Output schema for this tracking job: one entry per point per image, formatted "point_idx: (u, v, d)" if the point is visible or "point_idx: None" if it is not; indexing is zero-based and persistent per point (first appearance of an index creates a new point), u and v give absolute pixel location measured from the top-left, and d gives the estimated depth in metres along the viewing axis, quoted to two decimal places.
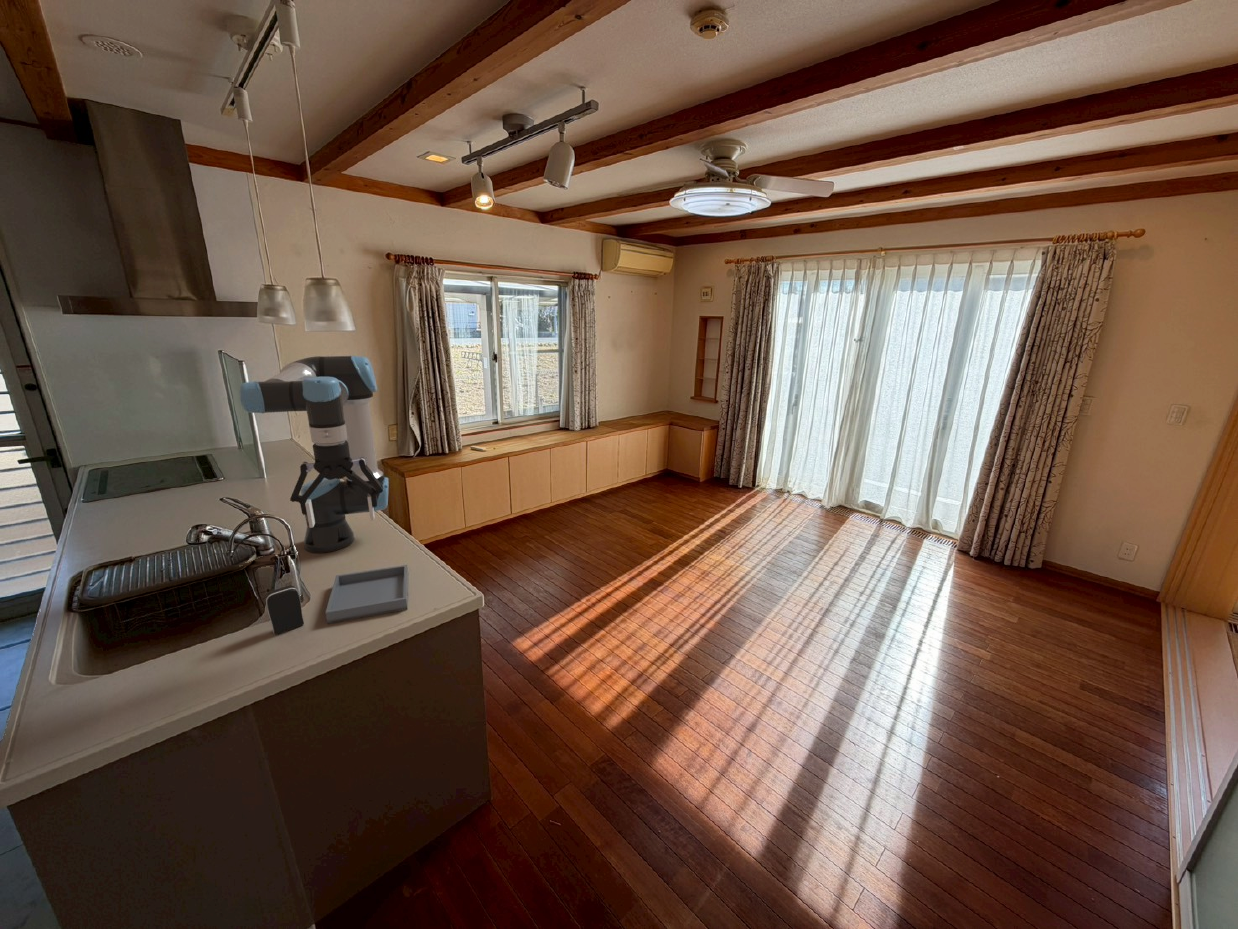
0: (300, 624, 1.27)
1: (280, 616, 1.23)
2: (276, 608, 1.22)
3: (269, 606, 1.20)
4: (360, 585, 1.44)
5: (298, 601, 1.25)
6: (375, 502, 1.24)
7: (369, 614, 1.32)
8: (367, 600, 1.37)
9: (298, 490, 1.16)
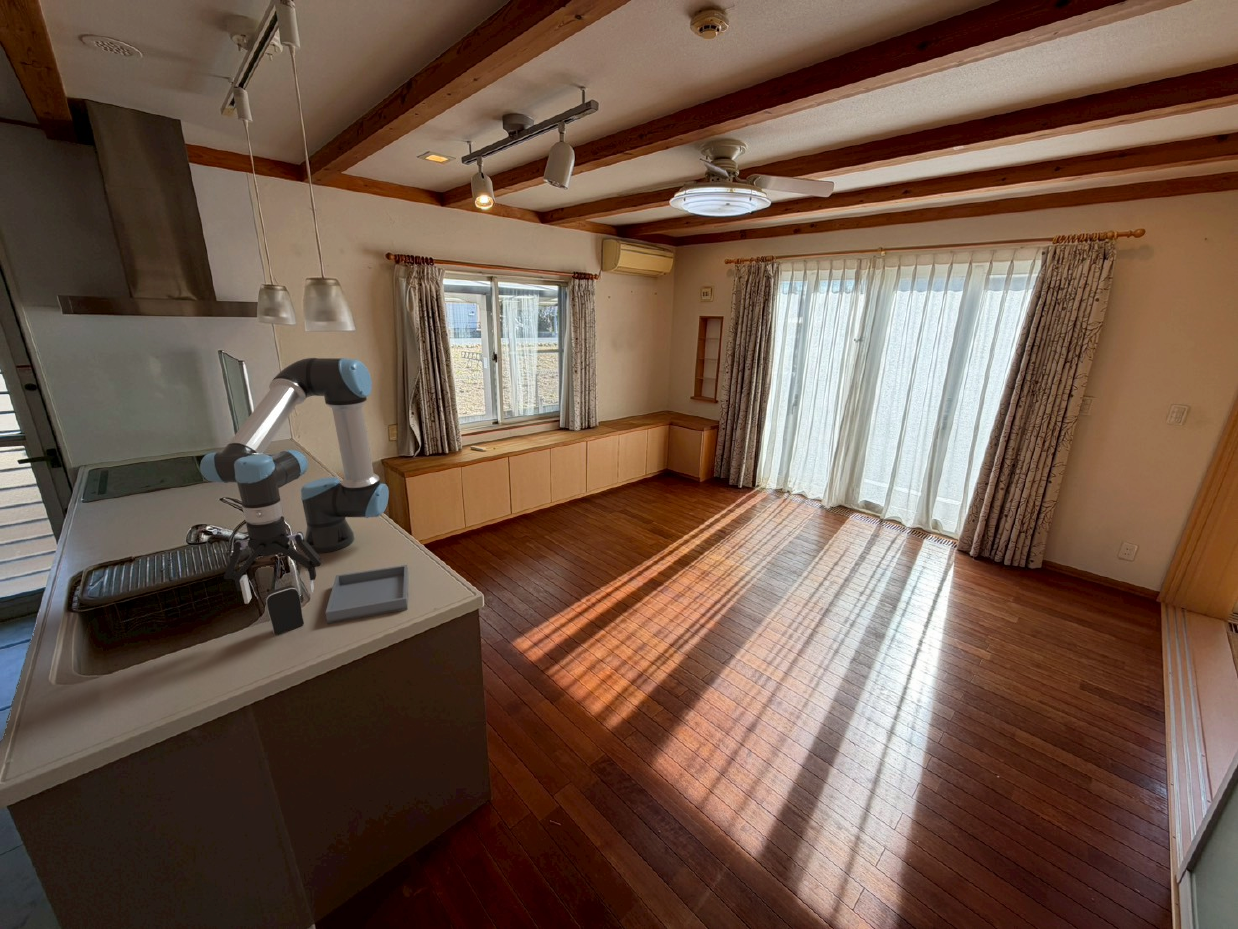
0: (300, 624, 1.27)
1: (280, 616, 1.23)
2: (276, 608, 1.22)
3: (269, 606, 1.20)
4: (360, 585, 1.44)
5: (298, 601, 1.25)
6: (313, 575, 1.24)
7: (369, 614, 1.32)
8: (367, 600, 1.37)
9: (232, 568, 1.16)
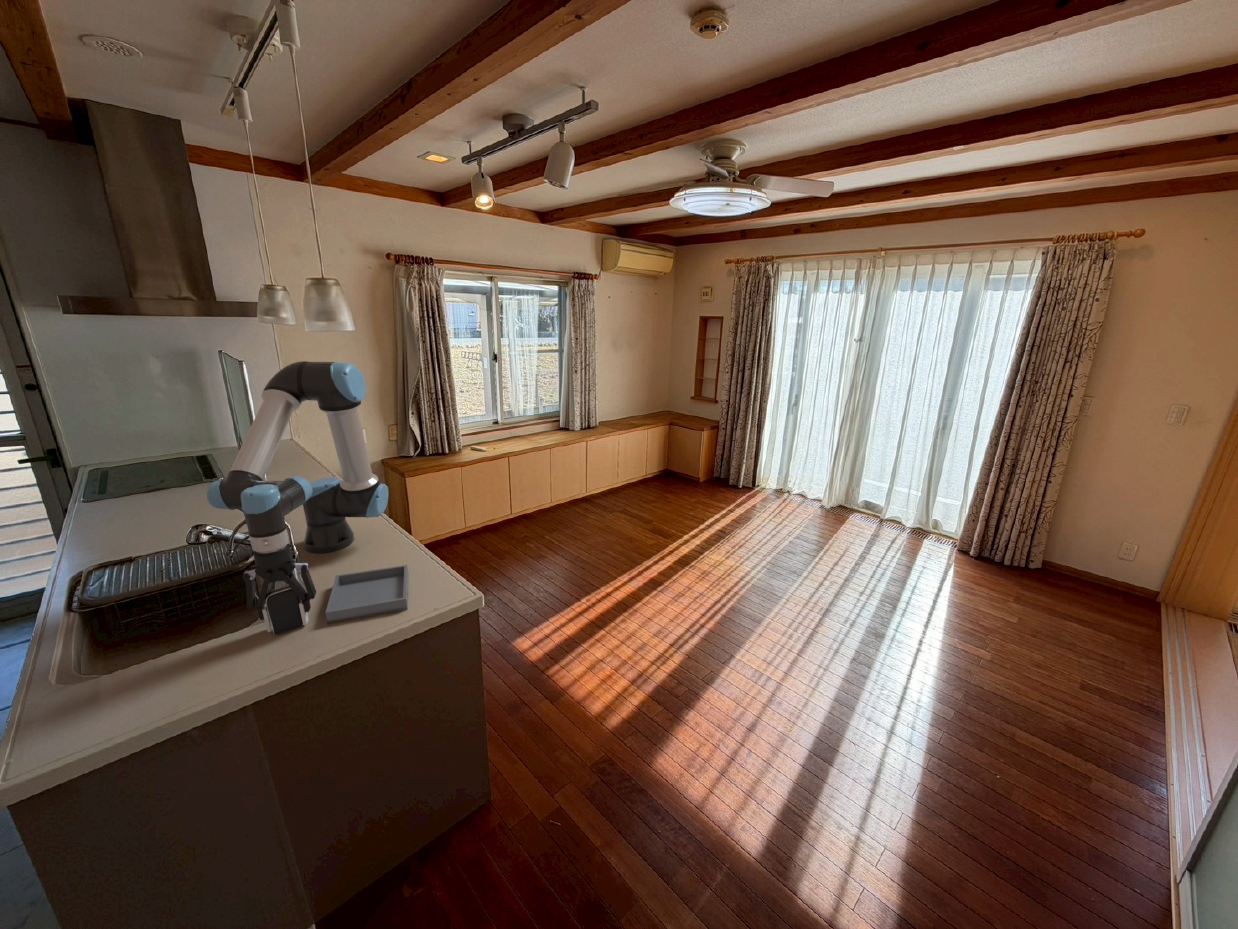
0: (300, 624, 1.27)
1: (280, 616, 1.23)
2: (276, 608, 1.21)
3: (269, 606, 1.20)
4: (360, 585, 1.44)
5: (298, 601, 1.25)
6: (307, 607, 1.26)
7: (369, 614, 1.32)
8: (367, 600, 1.37)
9: (251, 598, 1.20)
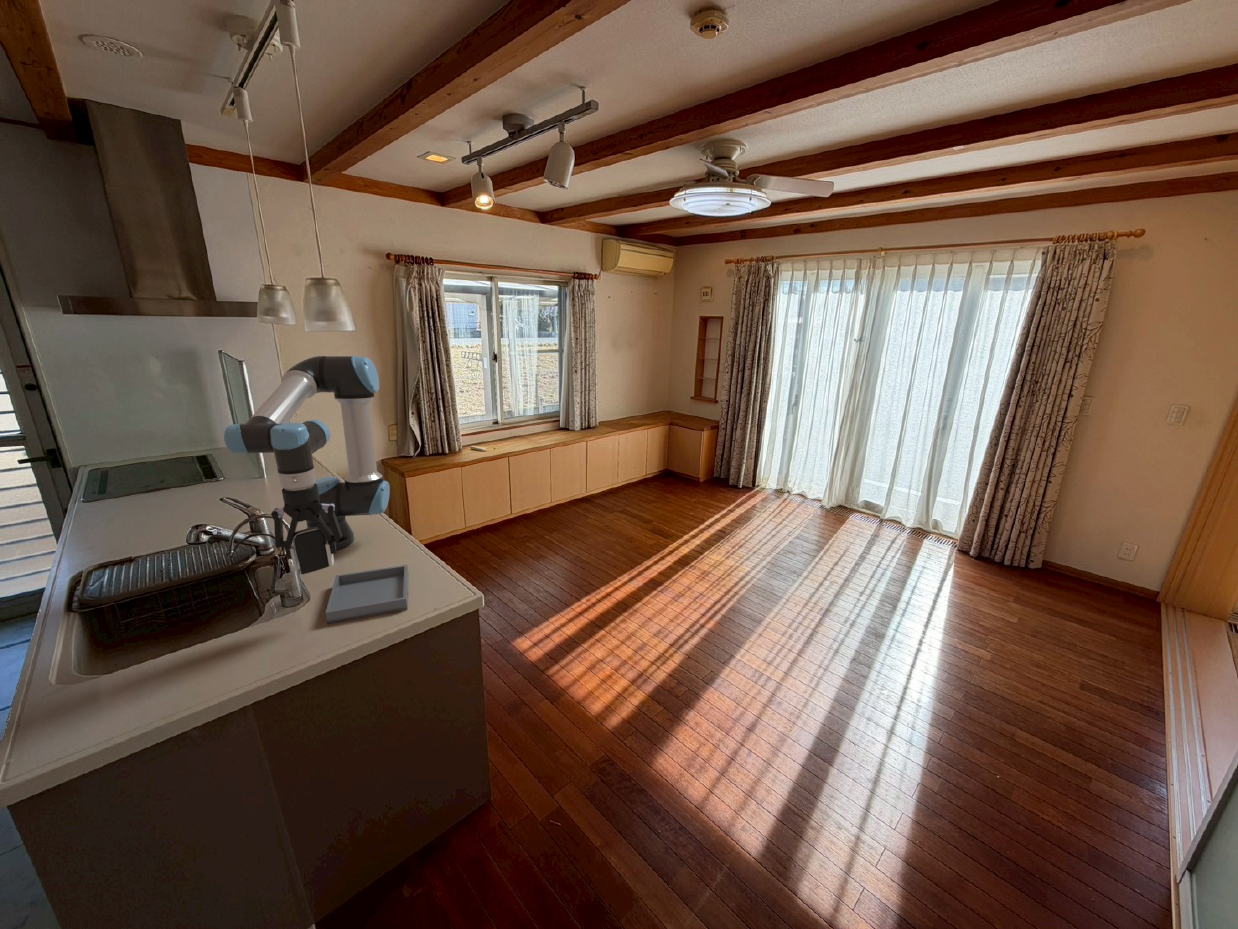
0: (326, 566, 1.28)
1: (307, 556, 1.24)
2: (303, 547, 1.23)
3: (296, 545, 1.22)
4: (360, 585, 1.44)
5: (324, 542, 1.26)
6: (333, 549, 1.27)
7: (369, 614, 1.32)
8: (367, 600, 1.37)
9: (279, 536, 1.21)
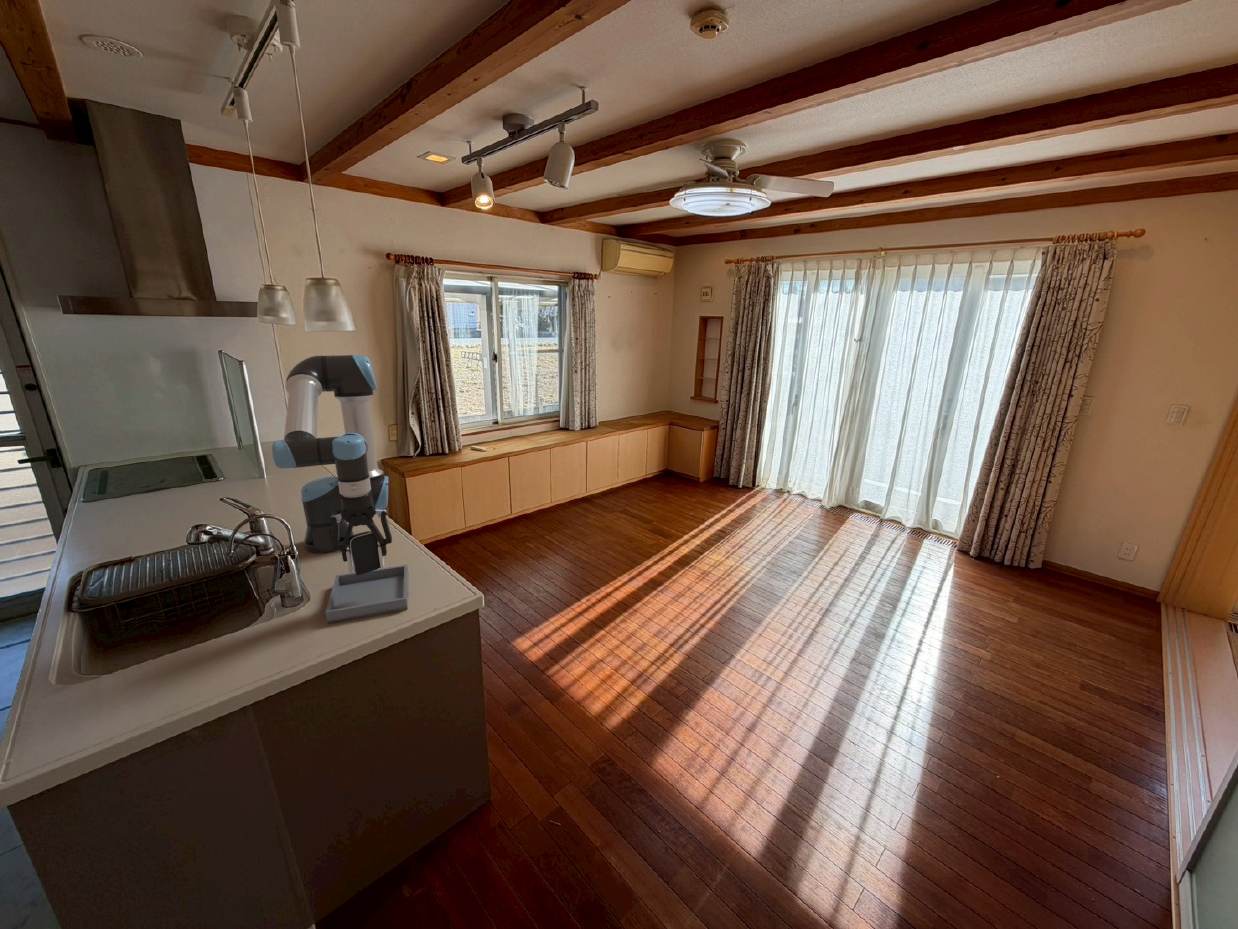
0: (377, 567, 1.37)
1: (361, 558, 1.34)
2: (358, 550, 1.32)
3: (353, 548, 1.31)
4: (360, 585, 1.44)
5: (376, 545, 1.36)
6: (385, 551, 1.37)
7: (369, 614, 1.32)
8: (367, 600, 1.37)
9: (337, 540, 1.31)
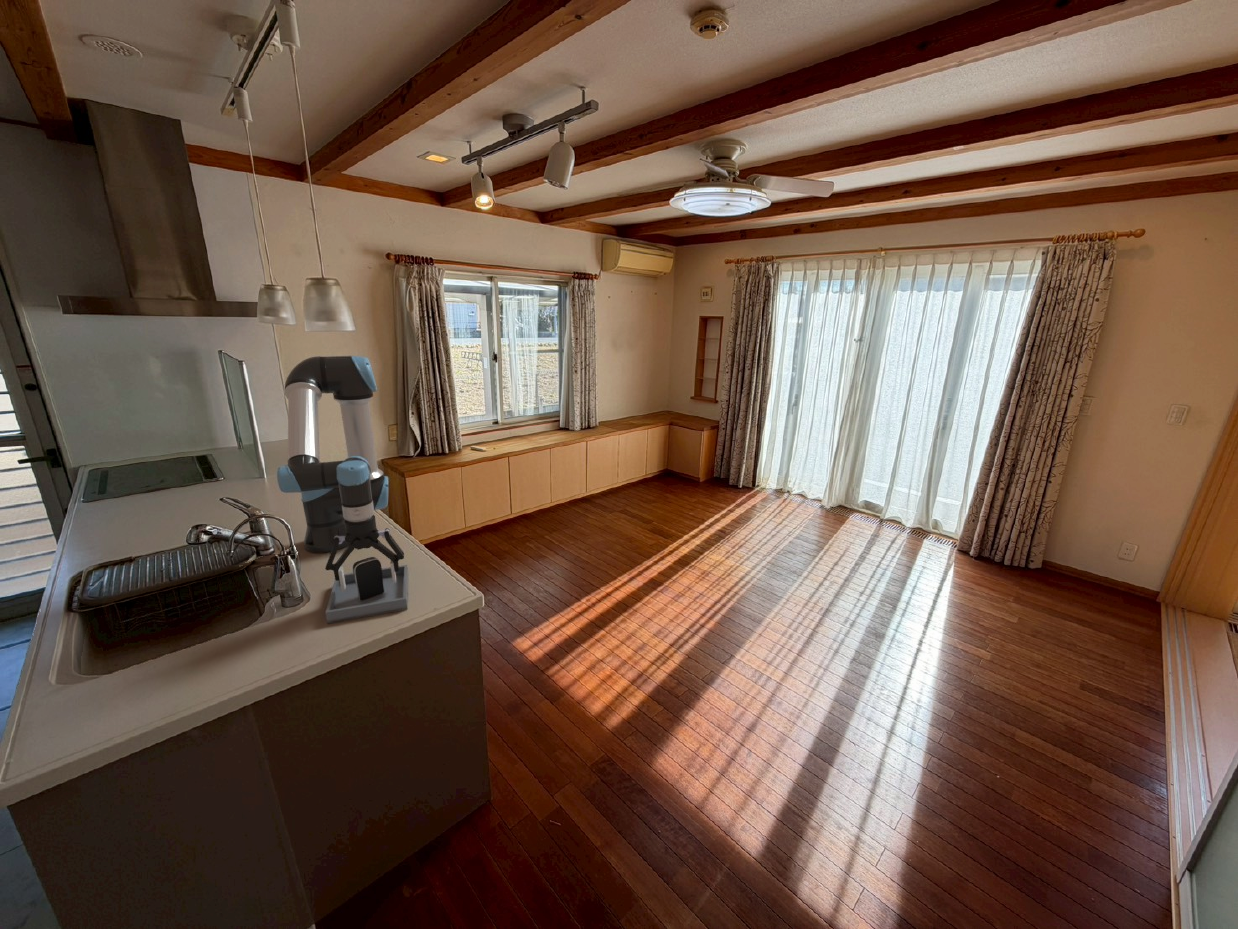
0: (381, 592, 1.40)
1: (366, 584, 1.36)
2: (363, 576, 1.35)
3: (357, 574, 1.34)
4: None
5: (380, 571, 1.38)
6: (397, 567, 1.40)
7: (369, 614, 1.32)
8: (367, 600, 1.37)
9: (332, 560, 1.32)
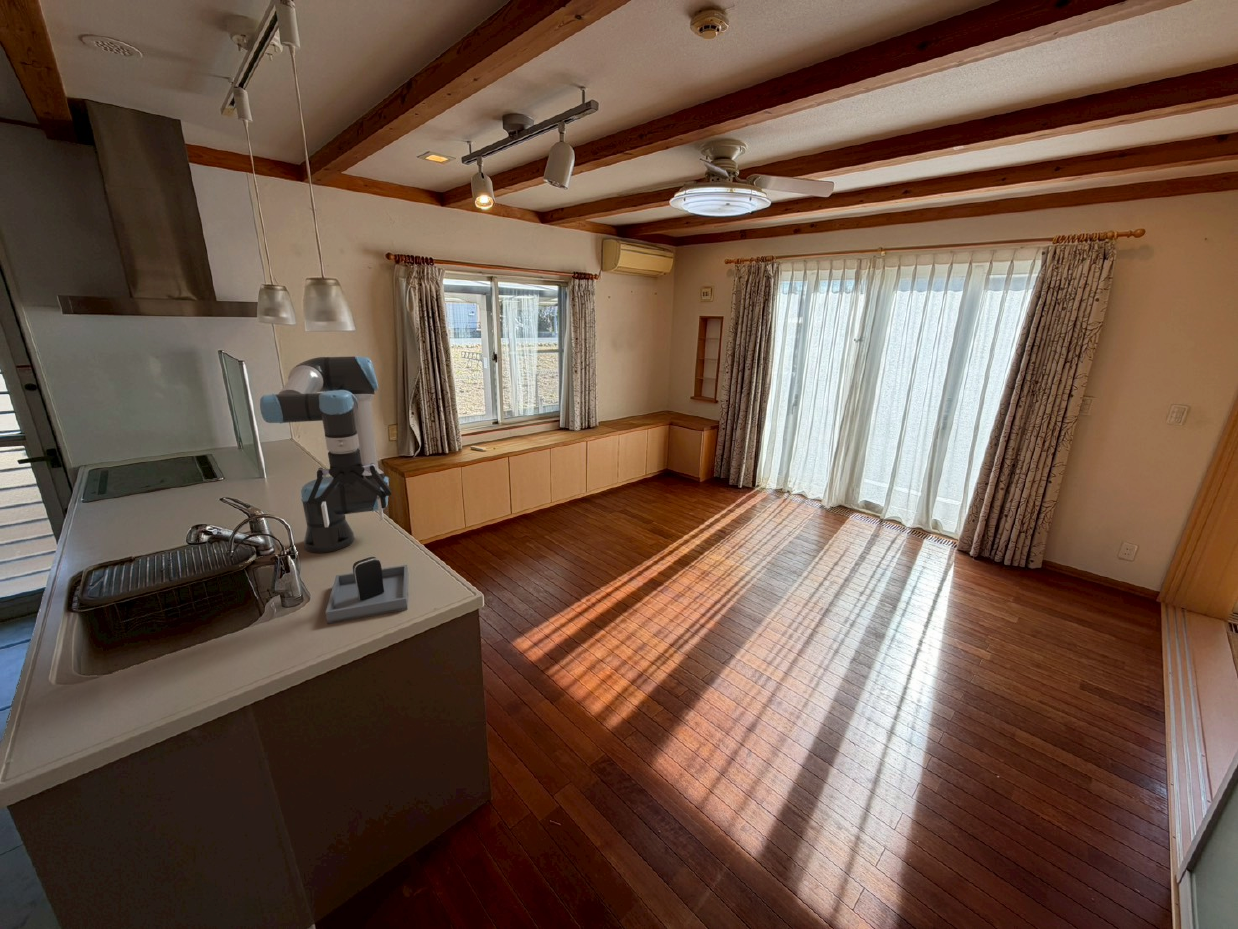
0: (381, 592, 1.40)
1: (366, 584, 1.36)
2: (362, 576, 1.35)
3: (357, 574, 1.34)
4: None
5: (380, 570, 1.39)
6: (384, 504, 1.36)
7: (369, 614, 1.32)
8: (367, 600, 1.37)
9: (315, 493, 1.28)
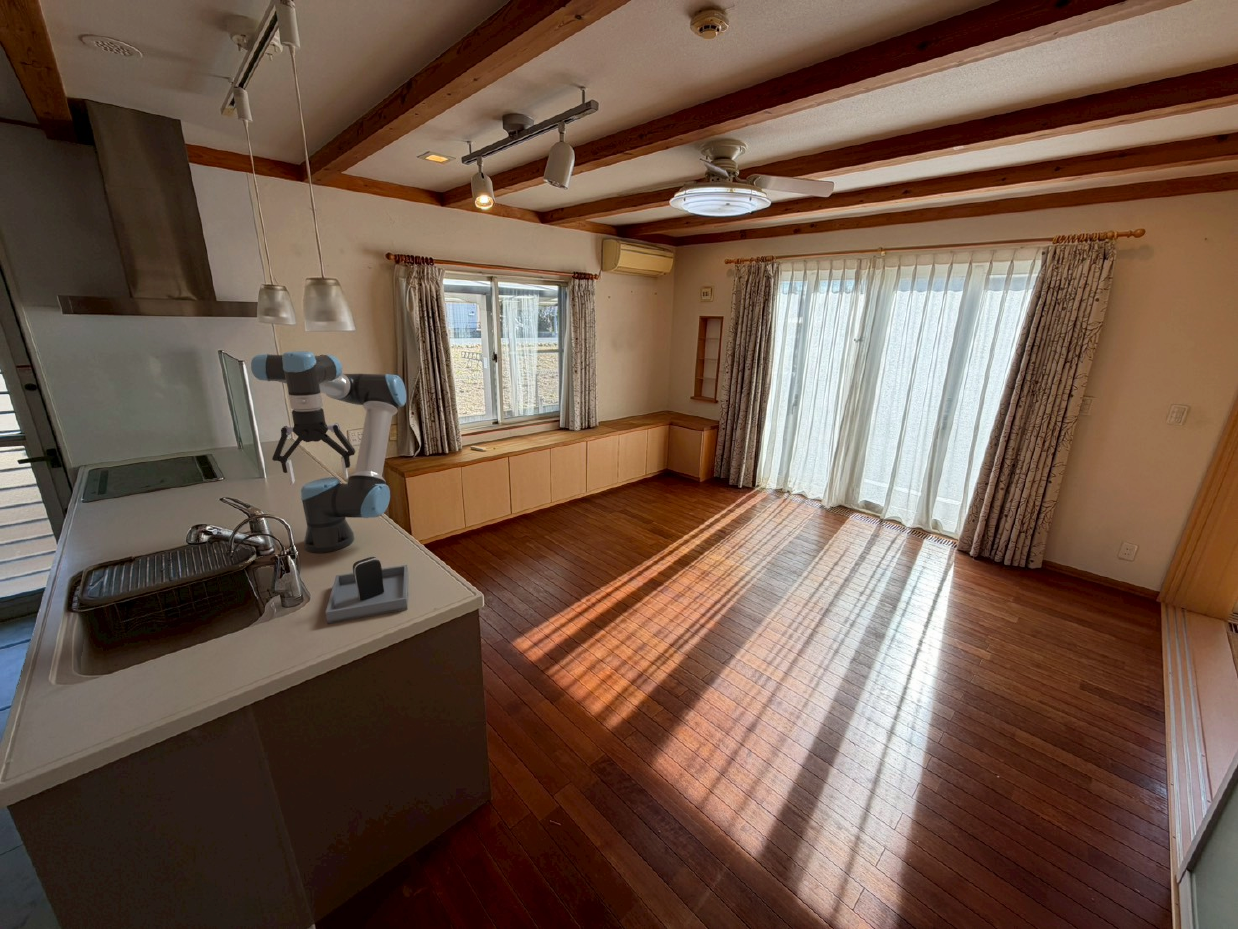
0: (381, 592, 1.40)
1: (366, 584, 1.36)
2: (362, 576, 1.35)
3: (357, 574, 1.34)
4: None
5: (380, 570, 1.39)
6: (348, 463, 1.41)
7: (369, 614, 1.32)
8: (367, 600, 1.37)
9: (279, 450, 1.33)
